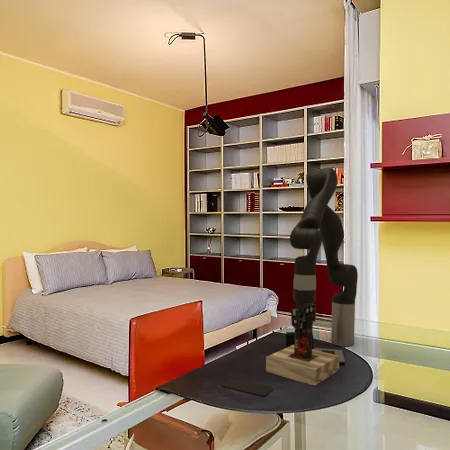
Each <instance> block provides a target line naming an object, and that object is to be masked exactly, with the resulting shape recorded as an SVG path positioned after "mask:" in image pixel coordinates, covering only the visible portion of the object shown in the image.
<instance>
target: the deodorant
mask: <svg viewBox="0 0 450 450" xmlns="http://www.w3.org/2000/svg"><path fill="white" fill-rule="evenodd" d="M303 315H304V314H303ZM303 315H299V316H300V318H303ZM300 322H301V321H300ZM313 327H314V321H313V312H308V313H307V314H305V322H303V327H302V328H303V329H302V339H301V340H300V339H296V338H295V340H294V356H295V357H296V358H300V359H310V358H312V334H313V330H314V329H313ZM294 332H295V333H296V328H295V327H294Z"/></svg>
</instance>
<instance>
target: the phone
mask: <svg viewBox="0 0 450 450" xmlns="http://www.w3.org/2000/svg"><path fill="white" fill-rule="evenodd" d="M220 387H222V388H223V389H229V390H233V391H237V392H240V393H244V394H249V395H252V396H256V397H261V398H266V397H267V396H268V395H269V394H270V393H272V392H273V391H274V387H273V386H270V385H266V384H261V383H258V382H253V381H248V380H243V379H239V378H234V377H230V378H229V379H226V380H225V381H223V382H222V383H221V384H220Z"/></svg>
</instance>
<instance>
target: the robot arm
mask: <svg viewBox="0 0 450 450" xmlns="http://www.w3.org/2000/svg"><path fill="white" fill-rule="evenodd" d="M305 176H306V177H305V181H306V187H307V190H308V193H309V196H310V199H311V200H309V202H308V203H307V204H306V205H305V207H304V209H303V213H302V215H301V218H300V219H299V221H298V223H296V225H295V226H294V227H293V229H292V230H291V232H290V235H289V242H290V245H291V247H292V248H294V249H296V250H308V251H309V252H308V254H305V255H299V256H297V257H295V259H294V275H293V288H292V289H293V292H292V294H293V295H292V296H293V297H292V299H293V300H292V301H294V302H296V306H295V308H291V310H290V317H291V318H290V319H291V327H294V329H295V328H296V333H295V338H296V339H300V340H301V339H302V329H303V328H302V327H303V322H305V314H307V313H308V312H313V323H314V322H316V317H317V305H318V304H315V303H316V300H317V276H316V274H317V272H316V269H317V259H318V254H319V251H320V248H321V245H322V247H323V250H324V255H325V261H326V269H327V270H326V271H327V274H328V275H327V276H328V278H329V282H330V284H333V285H335V286H340V287H343V290H342V291H341V292H337V293H334V294H333V295H332V298H331V334H330V337H331V339H330V342H331V344H332V345H335V346H339V347H352V346H354V345H355V325H356V324H355V320H356V315H355V314H356V298H357V293H358V292H357V291H358V290H357V289H358V276H359V275H358V274H359V273H358V269H357V267H356V266H355V265H354V264H349V263H348V264H347V263H341V262H340V260H339V255H338V254H339V250H340V248H341V245H342V244H343V241H344V239H345V231H344V226H343V223H342V219H341V217H340V216H339V215H338V214H337V212H336V211H334V210H333V209H332V208H331V207H330V206H329V203H330V200H331V199H332V197H333V195H334V194H335V191H336V189H337V187H338V186H337V185H338V176H337V172H336V170H335V168H333V167H322V168H317V169H312V170H308V171H307V172H306V175H305ZM303 314H304V315H303ZM299 315H303V318H300V316H299ZM300 321H301V322H300Z"/></svg>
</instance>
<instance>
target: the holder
mask: <svg viewBox="0 0 450 450" xmlns="http://www.w3.org/2000/svg"><path fill="white" fill-rule="evenodd" d="M339 371H340V363H339V356H338V355H334V354H329V353H325V352H321V351H317V350H314V349H313V350H312V358H310V359H300V358H296V357H295V356H294V345H292V346H290V347H287V348H286V347H285V348H284V349H280V350H278V351H277V352H274V353H272V354H270V355H267V356H266V357H265V372H266V373H269V374H272V375H275V376H280V377H283V378H286V379H290V380H294V381H296V382H300V383H303V384H306V383H307V385H310V386H313V385H314V386H313V387H315V385H316V386H317V385H319V384H321V383H322V382H323V381H325V380H327V379H328V378H329V377H331V376H332V375H335V374H336V373H337V372H339ZM321 381H322V382H321ZM318 383H319V384H318Z"/></svg>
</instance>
